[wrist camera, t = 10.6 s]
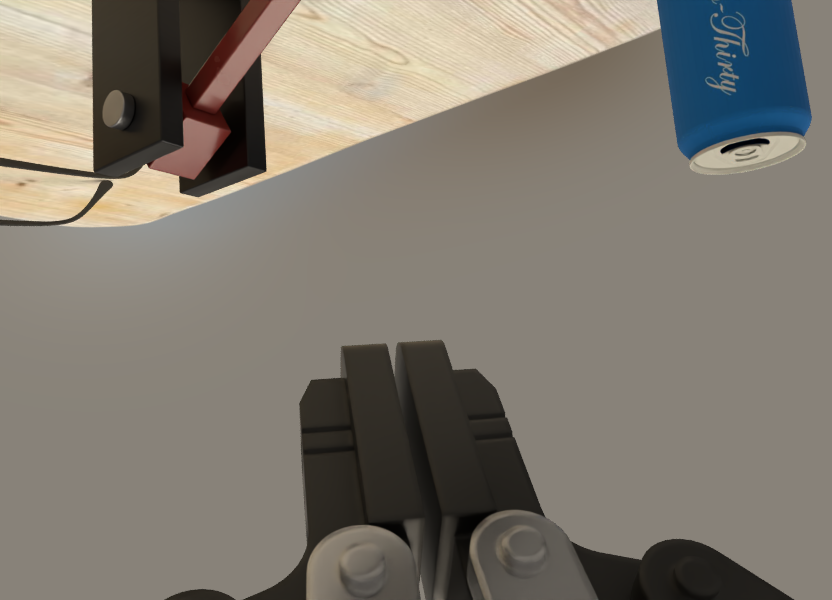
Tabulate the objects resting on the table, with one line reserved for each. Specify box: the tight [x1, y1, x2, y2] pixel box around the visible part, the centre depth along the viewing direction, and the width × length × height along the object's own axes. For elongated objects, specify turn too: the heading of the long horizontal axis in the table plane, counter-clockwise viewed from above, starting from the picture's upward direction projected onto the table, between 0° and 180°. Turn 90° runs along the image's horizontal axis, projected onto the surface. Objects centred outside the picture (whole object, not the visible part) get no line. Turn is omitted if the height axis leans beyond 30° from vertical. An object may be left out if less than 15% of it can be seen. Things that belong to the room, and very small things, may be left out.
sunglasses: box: [0, 158, 142, 226], centre depth 61 cm, size 16×17×5 cm
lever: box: [147, 0, 301, 180], centre depth 29 cm, size 13×6×2 cm, turn 127°
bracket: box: [92, 0, 266, 197], centre depth 32 cm, size 12×9×14 cm
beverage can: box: [657, 0, 812, 175], centre depth 41 cm, size 6×6×12 cm
